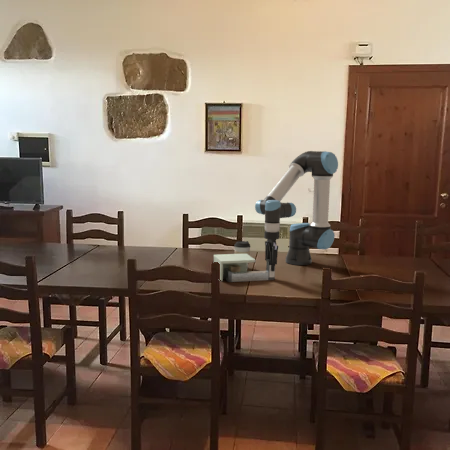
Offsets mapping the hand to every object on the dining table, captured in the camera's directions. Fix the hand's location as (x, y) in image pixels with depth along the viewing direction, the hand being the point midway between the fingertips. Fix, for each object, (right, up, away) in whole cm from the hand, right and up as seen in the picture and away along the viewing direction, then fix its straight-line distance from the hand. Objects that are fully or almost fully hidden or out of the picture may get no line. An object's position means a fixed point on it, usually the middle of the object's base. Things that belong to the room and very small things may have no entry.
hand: (270, 276), depth 262 cm
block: (-18, 0, +7) cm, 20 cm away
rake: (-11, -1, 0) cm, 11 cm away
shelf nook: (-19, -1, +4) cm, 19 cm away
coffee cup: (-14, +2, +22) cm, 26 cm away
